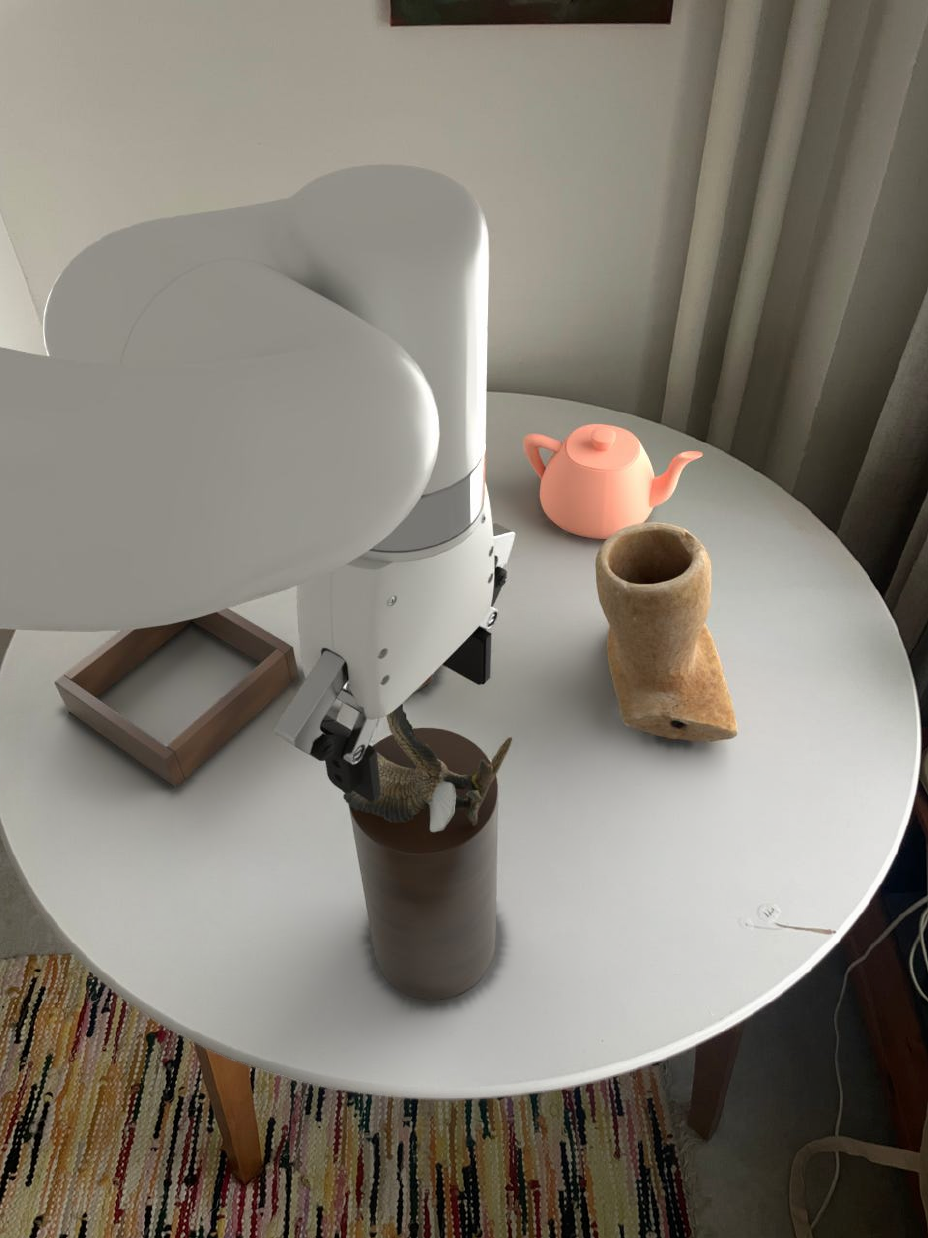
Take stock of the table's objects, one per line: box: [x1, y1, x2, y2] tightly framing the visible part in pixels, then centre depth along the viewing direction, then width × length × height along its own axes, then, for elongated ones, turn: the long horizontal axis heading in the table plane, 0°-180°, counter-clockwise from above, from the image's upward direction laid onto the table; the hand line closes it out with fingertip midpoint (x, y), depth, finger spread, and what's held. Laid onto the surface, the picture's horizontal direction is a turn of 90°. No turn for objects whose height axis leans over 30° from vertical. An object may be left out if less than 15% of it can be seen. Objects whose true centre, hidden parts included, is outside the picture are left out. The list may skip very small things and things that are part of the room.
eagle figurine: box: [342, 703, 513, 832], centre depth 59 cm, size 8×7×9 cm
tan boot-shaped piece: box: [595, 521, 739, 742], centre depth 87 cm, size 15×12×15 cm
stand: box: [347, 727, 499, 1001], centre depth 68 cm, size 9×9×20 cm
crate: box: [54, 608, 299, 789], centre depth 91 cm, size 15×14×4 cm
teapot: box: [523, 423, 704, 540], centre depth 105 cm, size 12×18×10 cm
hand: (412, 725), depth 56 cm, fingers open, 9 cm apart
